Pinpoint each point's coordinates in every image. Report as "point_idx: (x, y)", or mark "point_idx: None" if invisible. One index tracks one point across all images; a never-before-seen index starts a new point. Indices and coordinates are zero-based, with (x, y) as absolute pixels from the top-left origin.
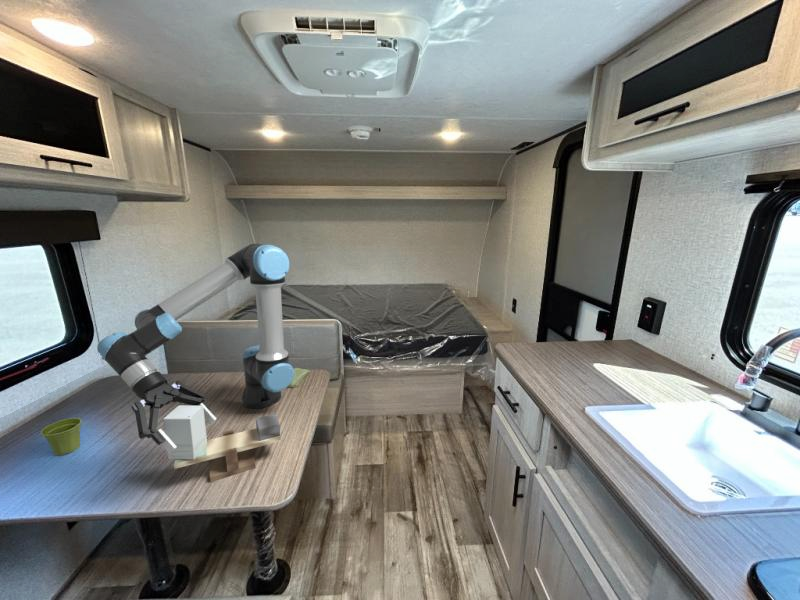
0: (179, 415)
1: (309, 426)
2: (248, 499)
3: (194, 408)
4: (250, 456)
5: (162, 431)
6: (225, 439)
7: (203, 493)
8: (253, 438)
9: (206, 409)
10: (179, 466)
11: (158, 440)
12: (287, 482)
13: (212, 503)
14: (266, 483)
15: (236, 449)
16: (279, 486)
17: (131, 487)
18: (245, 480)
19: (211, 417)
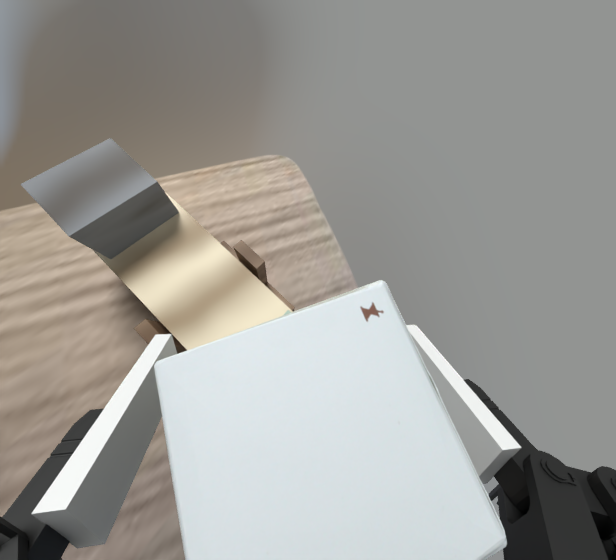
0: (398, 418)
1: (24, 206)
2: (306, 209)
3: (239, 395)
4: None
5: (484, 421)
6: (195, 317)
7: (323, 298)
8: (170, 236)
9: (113, 414)
10: None
11: (486, 397)
12: (249, 168)
13: (336, 262)
14: (262, 200)
15: (241, 240)
16: (263, 176)
17: None
18: (267, 242)
19: (162, 355)
